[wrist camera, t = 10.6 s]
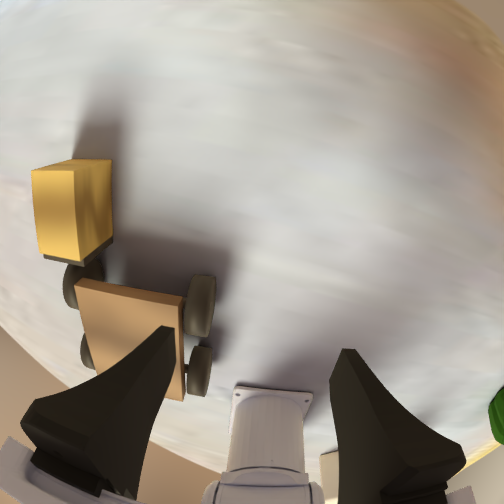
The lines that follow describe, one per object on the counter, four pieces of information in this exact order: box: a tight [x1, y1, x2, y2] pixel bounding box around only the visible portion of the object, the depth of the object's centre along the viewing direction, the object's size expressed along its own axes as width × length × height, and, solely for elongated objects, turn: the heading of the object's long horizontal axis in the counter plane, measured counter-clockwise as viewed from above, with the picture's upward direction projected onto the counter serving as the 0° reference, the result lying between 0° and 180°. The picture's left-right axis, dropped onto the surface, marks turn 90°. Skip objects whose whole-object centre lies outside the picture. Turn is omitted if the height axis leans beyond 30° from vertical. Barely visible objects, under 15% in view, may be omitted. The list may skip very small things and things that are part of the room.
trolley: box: [63, 258, 216, 402], centre depth 22 cm, size 11×11×5 cm
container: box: [319, 451, 339, 504], centre depth 28 cm, size 8×8×13 cm
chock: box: [31, 159, 113, 267], centre depth 18 cm, size 7×4×5 cm, turn 173°
